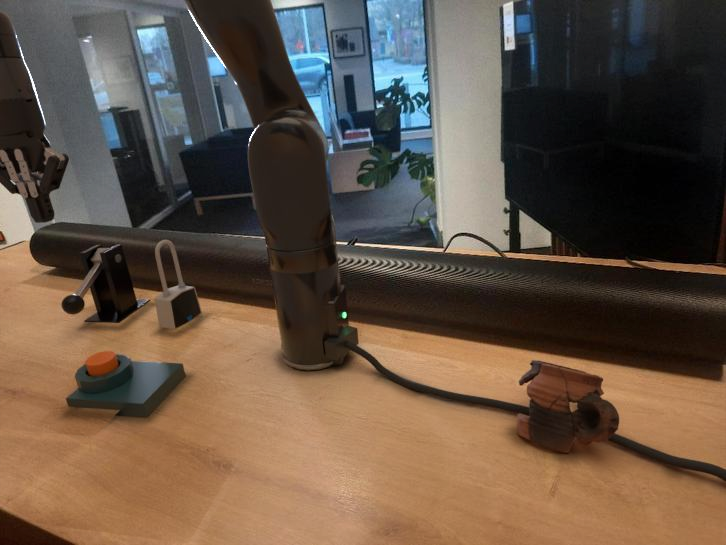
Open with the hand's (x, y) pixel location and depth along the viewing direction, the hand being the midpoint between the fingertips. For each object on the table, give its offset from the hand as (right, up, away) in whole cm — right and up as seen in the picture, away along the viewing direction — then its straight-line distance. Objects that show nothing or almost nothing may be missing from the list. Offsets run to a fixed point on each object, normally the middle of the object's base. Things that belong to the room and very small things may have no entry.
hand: (45, 221), depth 73 cm
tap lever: (+1, -10, +11) cm, 15 cm away
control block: (+16, -24, -7) cm, 29 cm away
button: (+13, -20, -8) cm, 25 cm away
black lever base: (+3, -15, +17) cm, 23 cm away
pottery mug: (+68, -25, -20) cm, 75 cm away
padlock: (+16, -17, +11) cm, 26 cm away
